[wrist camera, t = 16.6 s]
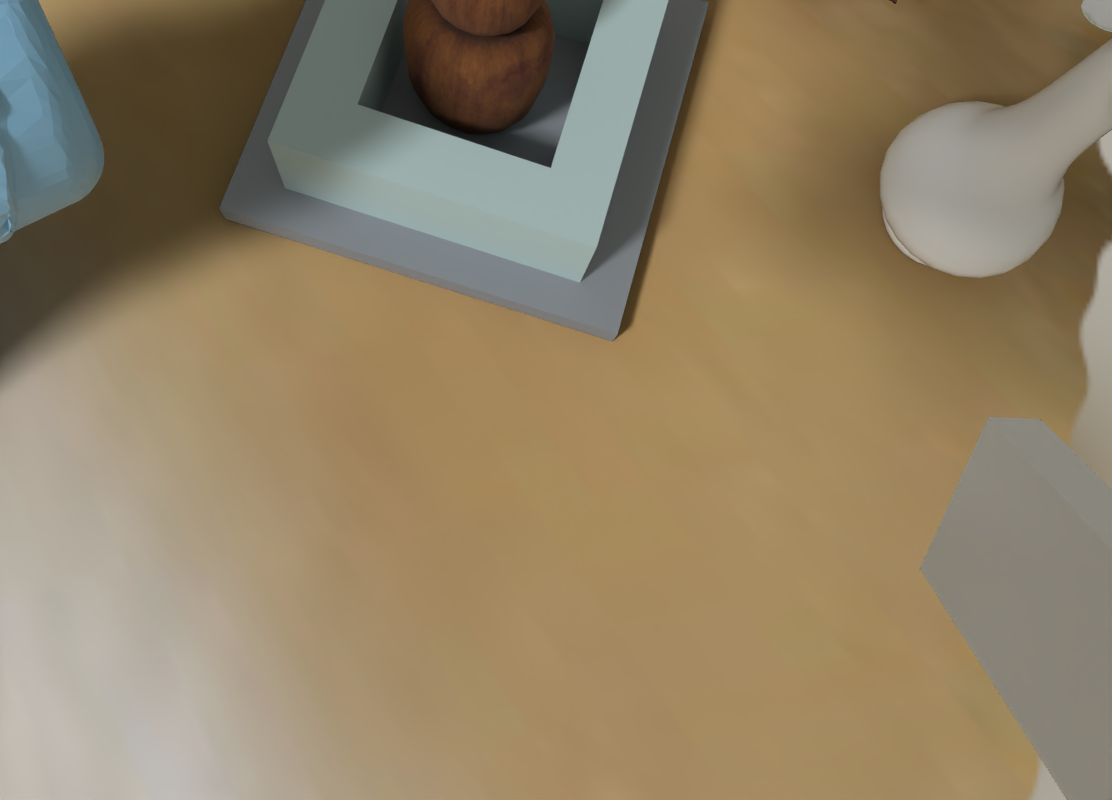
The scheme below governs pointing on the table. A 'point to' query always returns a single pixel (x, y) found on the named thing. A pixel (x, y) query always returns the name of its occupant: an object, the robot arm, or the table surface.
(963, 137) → the flower vase
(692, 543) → the table surface
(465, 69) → the wooden figurine
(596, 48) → the collar stand
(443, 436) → the table surface
